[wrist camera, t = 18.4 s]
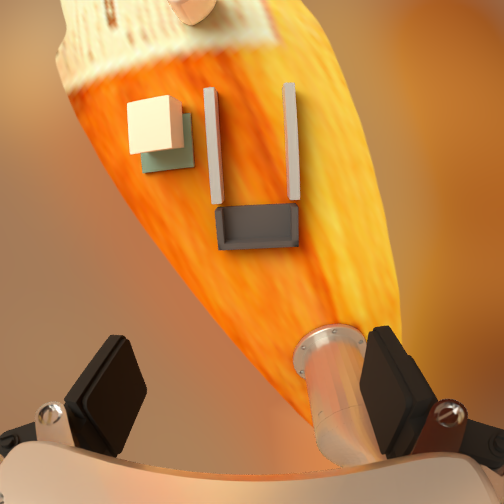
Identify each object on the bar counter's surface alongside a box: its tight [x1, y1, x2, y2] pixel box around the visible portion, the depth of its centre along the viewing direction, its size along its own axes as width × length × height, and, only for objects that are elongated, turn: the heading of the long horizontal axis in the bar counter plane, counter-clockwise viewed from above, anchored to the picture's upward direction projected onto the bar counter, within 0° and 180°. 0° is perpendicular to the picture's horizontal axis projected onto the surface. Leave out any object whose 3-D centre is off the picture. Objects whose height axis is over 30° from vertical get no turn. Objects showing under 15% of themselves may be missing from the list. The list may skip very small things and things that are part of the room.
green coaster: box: [141, 113, 195, 173], centre depth 34 cm, size 7×7×1 cm
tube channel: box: [204, 83, 300, 204], centre depth 33 cm, size 14×10×3 cm
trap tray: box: [215, 203, 299, 250], centre depth 36 cm, size 5×10×2 cm, turn 93°
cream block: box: [127, 95, 184, 154], centre depth 30 cm, size 6×5×6 cm
